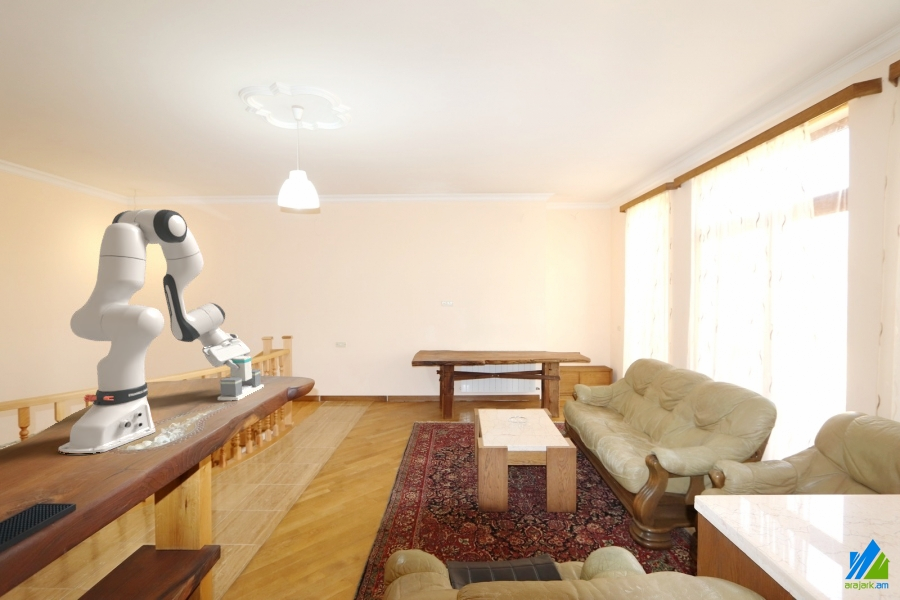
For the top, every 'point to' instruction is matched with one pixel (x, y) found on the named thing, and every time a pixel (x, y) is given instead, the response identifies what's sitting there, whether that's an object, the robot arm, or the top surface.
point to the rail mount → (240, 386)
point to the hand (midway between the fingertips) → (242, 367)
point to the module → (242, 367)
